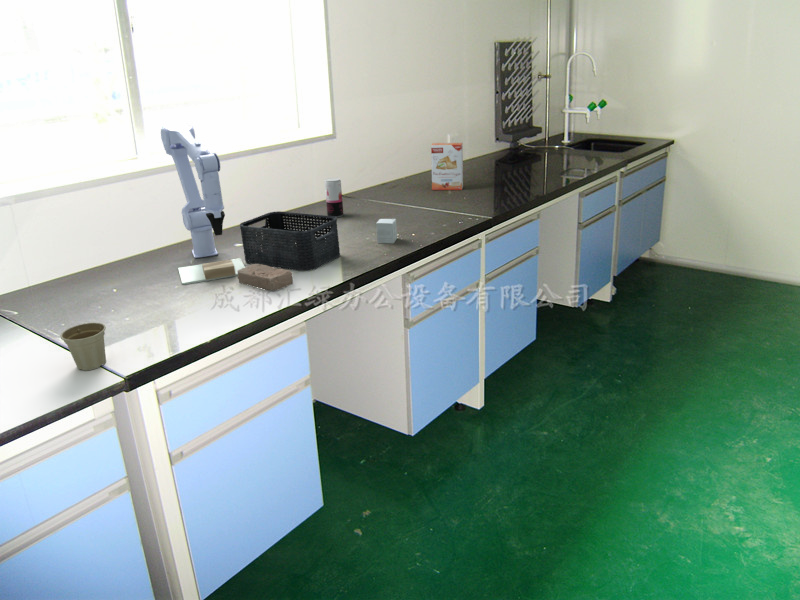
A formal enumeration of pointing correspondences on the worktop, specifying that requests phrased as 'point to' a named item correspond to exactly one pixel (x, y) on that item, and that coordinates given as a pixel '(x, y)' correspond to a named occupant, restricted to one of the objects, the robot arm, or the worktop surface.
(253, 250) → the storage bin
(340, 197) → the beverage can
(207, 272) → the slab
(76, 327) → the flower pot
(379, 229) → the product box
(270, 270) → the brick
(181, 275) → the mat
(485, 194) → the worktop surface
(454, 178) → the cracker box
